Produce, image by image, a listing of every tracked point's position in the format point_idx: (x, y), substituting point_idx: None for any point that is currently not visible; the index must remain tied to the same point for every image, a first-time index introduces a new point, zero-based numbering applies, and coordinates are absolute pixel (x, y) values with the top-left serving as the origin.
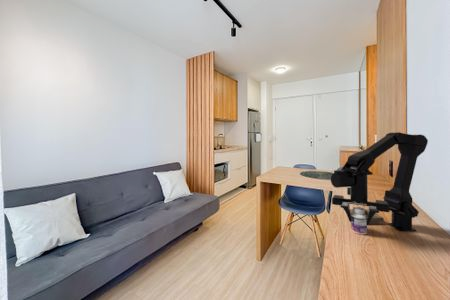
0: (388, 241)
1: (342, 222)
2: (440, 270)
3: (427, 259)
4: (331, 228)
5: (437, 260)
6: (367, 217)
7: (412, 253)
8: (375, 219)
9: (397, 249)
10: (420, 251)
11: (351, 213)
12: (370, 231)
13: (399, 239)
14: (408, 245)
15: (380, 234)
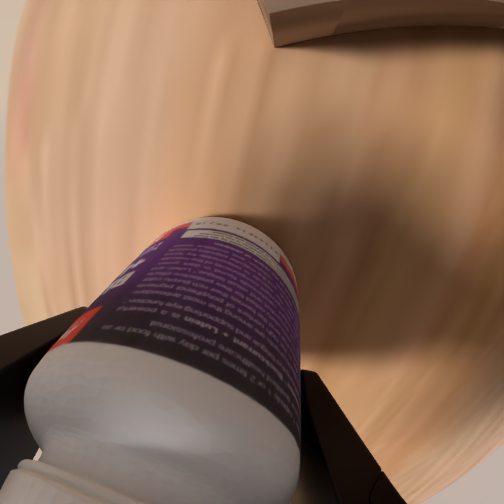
0: (404, 393)
1: (84, 74)
2: (428, 494)
3: (450, 465)
4: (17, 273)
5: (478, 456)
6: (317, 450)
7: (432, 454)
8: (499, 10)
9: (388, 451)
10: (483, 426)
11: (31, 427)
12: (351, 248)
13: (497, 338)
14: (483, 395)
15: (418, 295)
